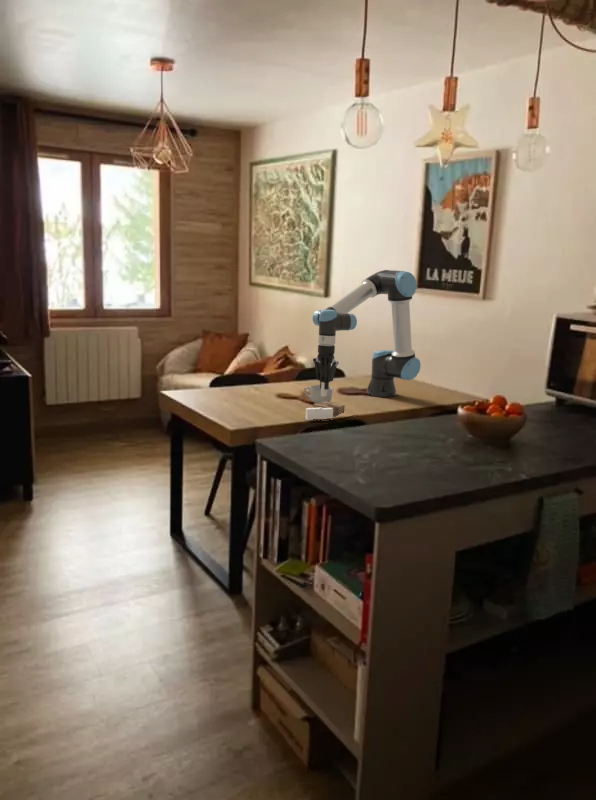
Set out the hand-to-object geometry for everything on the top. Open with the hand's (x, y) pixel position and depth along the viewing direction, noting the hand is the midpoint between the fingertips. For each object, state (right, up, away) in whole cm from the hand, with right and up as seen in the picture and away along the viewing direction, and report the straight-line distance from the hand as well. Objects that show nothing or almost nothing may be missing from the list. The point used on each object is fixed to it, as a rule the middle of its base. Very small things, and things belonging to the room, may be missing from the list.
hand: (323, 396), depth 307 cm
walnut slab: (-2, -5, +3) cm, 6 cm away
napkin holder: (-2, -11, -12) cm, 17 cm away
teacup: (-2, -3, +19) cm, 20 cm away
